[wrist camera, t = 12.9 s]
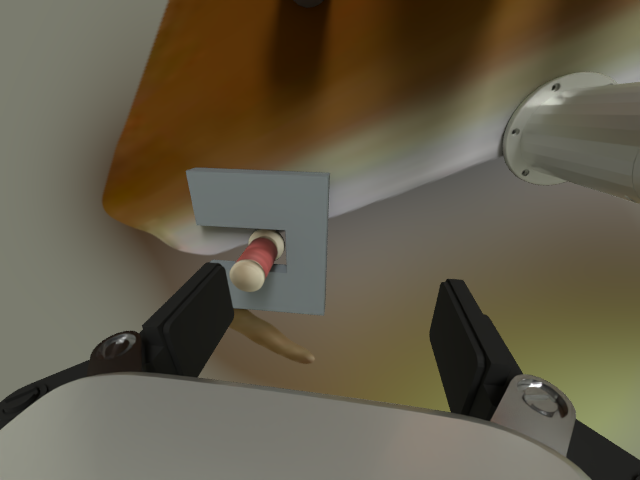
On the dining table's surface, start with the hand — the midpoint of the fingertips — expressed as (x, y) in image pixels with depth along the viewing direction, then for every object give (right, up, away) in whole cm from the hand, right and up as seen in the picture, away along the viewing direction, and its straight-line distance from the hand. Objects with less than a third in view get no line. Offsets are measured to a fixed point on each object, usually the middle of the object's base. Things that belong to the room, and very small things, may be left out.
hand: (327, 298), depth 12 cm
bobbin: (-9, +2, +32) cm, 33 cm away
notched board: (-9, +2, +32) cm, 34 cm away
